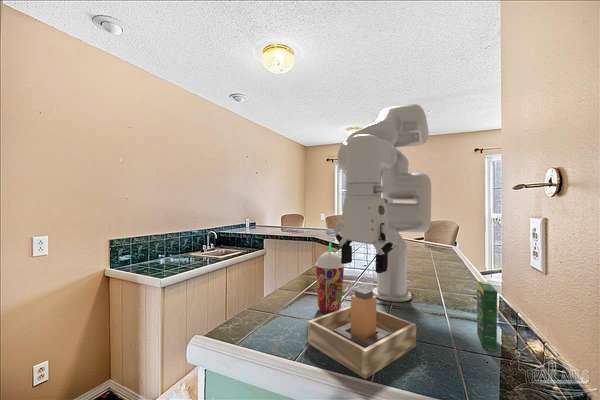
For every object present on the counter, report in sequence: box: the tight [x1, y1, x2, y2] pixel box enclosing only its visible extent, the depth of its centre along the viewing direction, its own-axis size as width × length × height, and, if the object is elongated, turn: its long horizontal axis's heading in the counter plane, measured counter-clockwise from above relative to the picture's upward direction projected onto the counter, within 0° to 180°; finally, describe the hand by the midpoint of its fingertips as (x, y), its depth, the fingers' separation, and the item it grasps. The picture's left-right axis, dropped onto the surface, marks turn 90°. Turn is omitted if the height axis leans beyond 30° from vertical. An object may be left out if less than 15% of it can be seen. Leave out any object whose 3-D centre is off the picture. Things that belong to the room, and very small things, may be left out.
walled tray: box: [307, 305, 417, 380], centre depth 62 cm, size 18×16×5 cm
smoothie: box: [315, 242, 345, 315], centre depth 81 cm, size 8×8×20 cm
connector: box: [350, 288, 378, 340], centre depth 62 cm, size 4×4×11 cm
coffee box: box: [476, 281, 498, 352], centre depth 64 cm, size 8×3×13 cm, turn 155°
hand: (363, 267), depth 62 cm, fingers open, 9 cm apart
